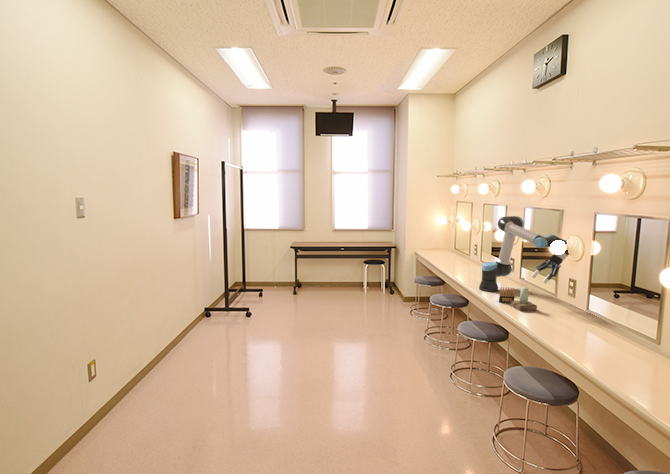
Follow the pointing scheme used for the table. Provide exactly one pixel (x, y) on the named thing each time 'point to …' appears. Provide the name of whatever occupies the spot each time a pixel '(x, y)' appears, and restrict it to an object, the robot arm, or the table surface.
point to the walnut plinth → (524, 306)
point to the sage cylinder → (524, 295)
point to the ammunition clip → (506, 295)
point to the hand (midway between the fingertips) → (538, 279)
